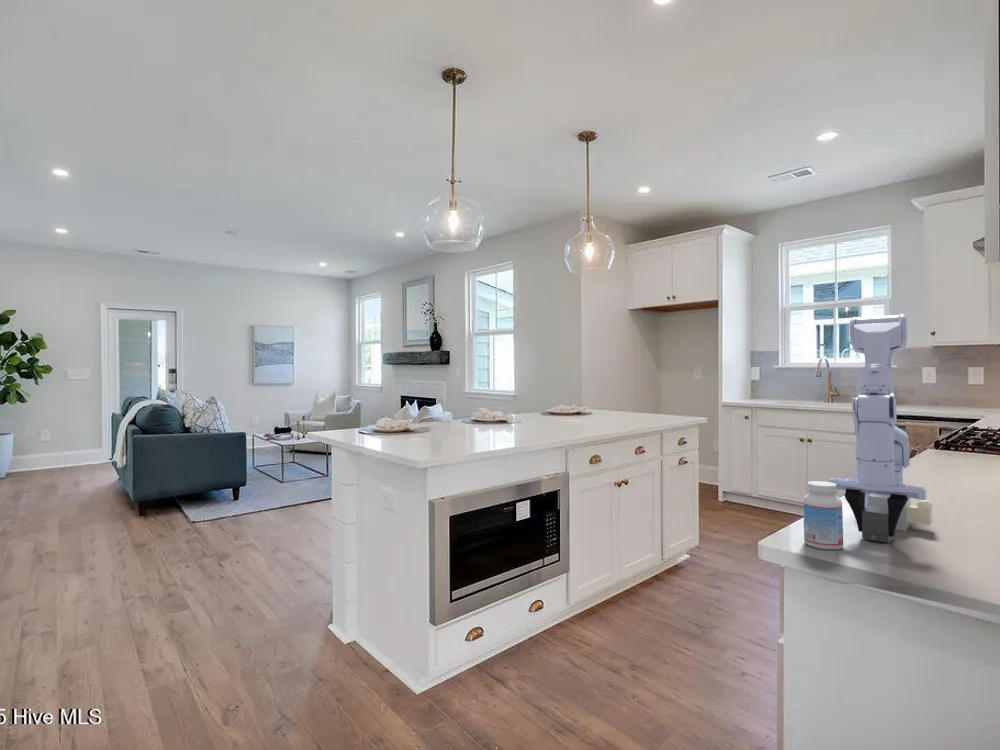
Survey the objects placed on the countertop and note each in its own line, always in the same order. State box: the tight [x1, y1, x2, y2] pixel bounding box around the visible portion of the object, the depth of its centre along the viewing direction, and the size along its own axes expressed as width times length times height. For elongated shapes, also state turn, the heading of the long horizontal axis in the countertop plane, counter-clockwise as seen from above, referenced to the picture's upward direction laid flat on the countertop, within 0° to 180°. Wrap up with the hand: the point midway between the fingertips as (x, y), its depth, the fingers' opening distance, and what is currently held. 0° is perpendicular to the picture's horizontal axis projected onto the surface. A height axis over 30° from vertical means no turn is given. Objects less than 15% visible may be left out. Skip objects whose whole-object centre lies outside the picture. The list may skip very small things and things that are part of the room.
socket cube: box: [868, 493, 912, 532], centre depth 107 cm, size 6×6×6 cm
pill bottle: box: [802, 480, 844, 551], centre depth 96 cm, size 6×6×11 cm
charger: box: [861, 505, 894, 544], centre depth 99 cm, size 9×4×5 cm, turn 135°
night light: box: [907, 499, 933, 526], centre depth 104 cm, size 3×4×4 cm
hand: (876, 532), depth 98 cm, fingers closed on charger, 4 cm apart
